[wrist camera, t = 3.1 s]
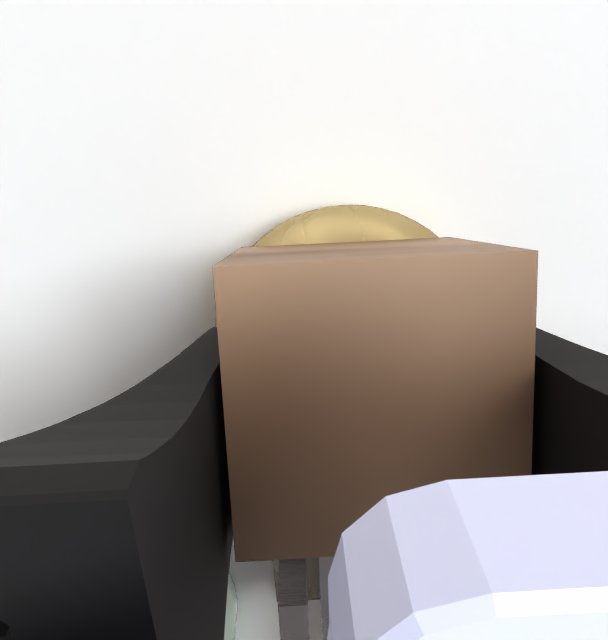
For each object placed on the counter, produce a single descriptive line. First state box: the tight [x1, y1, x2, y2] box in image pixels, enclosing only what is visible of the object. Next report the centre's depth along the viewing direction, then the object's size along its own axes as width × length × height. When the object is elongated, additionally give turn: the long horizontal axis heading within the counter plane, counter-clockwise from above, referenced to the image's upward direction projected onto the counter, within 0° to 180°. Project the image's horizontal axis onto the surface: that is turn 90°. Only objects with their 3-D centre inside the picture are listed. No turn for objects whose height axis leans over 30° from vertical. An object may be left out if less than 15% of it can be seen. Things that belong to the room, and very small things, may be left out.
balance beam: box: [215, 205, 439, 640], centre depth 14 cm, size 20×6×3 cm, turn 2°
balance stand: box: [273, 558, 320, 640], centre depth 15 cm, size 4×4×3 cm
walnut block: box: [213, 237, 538, 562], centre depth 10 cm, size 4×4×4 cm
